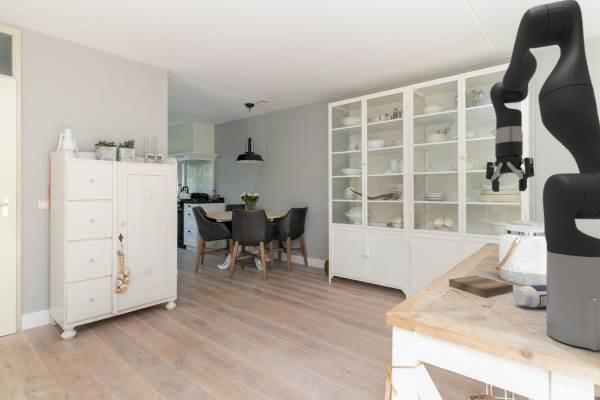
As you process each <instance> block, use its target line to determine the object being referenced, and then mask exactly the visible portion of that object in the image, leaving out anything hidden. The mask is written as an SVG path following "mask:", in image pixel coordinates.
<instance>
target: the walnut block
mask: <svg viewBox="0 0 600 400" xmlns="http://www.w3.org/2000/svg"><path fill="white" fill-rule="evenodd" d="M448 279H449V278H448ZM448 286H449V287H450V288H454V289H457V290H460V291H463V292H465V293H466V292H467V293H469V294H472V295H474V296H479V297H480V298H484V299H485V298H486V299H487V298H491V297H496V296H500V295H505V294H510V293H513V292H514V284H512V283H507V282H504V281H499V280H495V279H491V278H488V277H483V276H479V275H472V276H471V275H469V276H464V277H463V276H462V277H456V278H450V279H449V281H448Z"/></svg>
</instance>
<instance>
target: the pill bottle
mask: <svg viewBox="0 0 600 400" xmlns="http://www.w3.org/2000/svg"><path fill="white" fill-rule="evenodd" d="M546 289H547V284H538V285H537V284H536V285H535V284H533V285H524V286H522V287H521V288H517V289H515V290H514V289H513V292H512V297H513V301H514V302H515V303H516V304H517V305H519V306H526V307H527V308H531V309H534V308H546Z"/></svg>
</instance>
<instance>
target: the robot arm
mask: <svg viewBox="0 0 600 400" xmlns="http://www.w3.org/2000/svg"><path fill="white" fill-rule="evenodd" d="M551 46H558V47H559V52H560V53H559V58H558V60H557V62H556V64H555V65H554V67H553V69H552V70H551V72H550V73H549V75H548V76H547V78H546V79H545V81H544V82H543V84H542V86H541V87H540V91H539V92H538V95H537V96H538V99H537V100H538V107H539V112H540V113H539V114H540V118H541V123H542V124H543V126H544V128H545V130H547V132H548V133H549V134H550V135H551V136H552V137H554V139H556V140H557V141H558V142H559V143H560V144H561V145H562V146H563V147H564V148H565V150H567V151H568V152H569V154H571V156H572V158H573V159H574V162H575V163H576V166H577V168H578V172H577V173H576V172H575V173H574V172H572V173H571V172H570V173H569V172H568V173H554V174H552V175H550V176H549V177H548V178H547V179H546V180H545V183H544V186H543V189H542V210H543V225H544V238H545V243H546V285H547V289H546V307H545V308H546V311H545V312H546V321H545V324H546V334H547V336H549V337H551V338H552V339H554V340H556V341H559V342H561V343H564V344H567V345H570V346H575V347H580V348H584V349H589V350H592V351H595V352H596V351H600V238H599V237H594V236H592V235H589V234H587V233H586V232H585V233H584V232H583V231H581V230H580V229H579V228H578V226H577V223H576V220H600V117H599V112H598V105H597V100H596V94H595V90H594V89H595V88H594V85H593V83H592V78H591V75H590V70H589V65H588V60H587V55H586V48H585V47H586V45H585V35H584V21H583V13H582V9H581V6H580V4H579V2H578V1H577V0H560V1H554V2H549V3H544V4H540V5H535V6H532V7H529V8H528V9H527V10H525V12H524V13H523V15H522V17H521V19H520V22H519V25H518V28H517V32H516V36H515V40H514V45H513V48H512V53H511V59H510V62H509V64H508V66H507V69H506V71H505V73H504V75H503V78H502V81H499V82H496V83H494V84H493V85H492V86H491V88H490V92H489V97H490V101H491V104H492V106H493V111H494V113H495V119H496V120H495V123H496V124H495V126H496V127H495V128H496V129H495V139H494V140H495V141H494V142H495V145H494V146H495V147H494V148H495V149H494V151H495V152H494V153H495V159H496V160H495V161H487V162H486V168H485V169H486V170H485V172H486V173H485V179H486V180H489V181H491V190H492V192H494V193H499V192H500V181H499V180H500V178H502V177H503V176H504V175H505V174H514V175H516V176H517V177H518V178H519V179H518V191H519V192H526V190H527V189H528V179H530V178H533V177H534V176H535V166H534V158H533V157H524V158H523V152H524V150H523V146H524V145H523V144H524V143H523V142H524V140H523V138H524V136H523V135H524V134H523V133H524V132H523V127H522V126H523V120H522V119H523V117H522V116H523V114H522V111H521V109H518V108H512V107H508V106H506V104H507V105H508V104H517V103H521V102H523V101H524V100H526V98H527V97H528V95H529V85H530V84H529V83H530V81H531V80H532V78H533V76H534V75H535V73H536V71H537V67H538V62H537V58H536V56H535V55H534V54H533V52H532V51H531V49H538V48H546V47H551ZM522 165H524V169H523V167H522ZM495 168H496V169H495Z"/></svg>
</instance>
